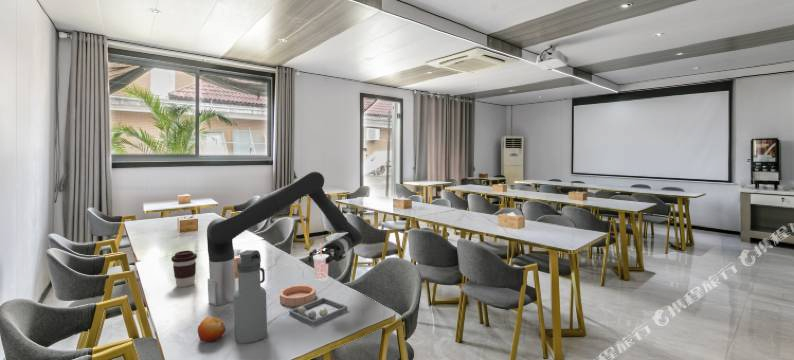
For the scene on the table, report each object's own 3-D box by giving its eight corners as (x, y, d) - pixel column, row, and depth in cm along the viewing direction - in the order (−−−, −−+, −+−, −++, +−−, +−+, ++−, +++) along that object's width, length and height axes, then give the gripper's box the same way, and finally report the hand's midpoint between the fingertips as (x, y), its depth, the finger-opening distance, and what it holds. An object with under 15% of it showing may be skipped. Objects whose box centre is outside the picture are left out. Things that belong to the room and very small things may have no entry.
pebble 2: (311, 321, 128) (311, 313, 128) (306, 319, 130) (305, 311, 130) (318, 318, 131) (317, 310, 130) (312, 316, 132) (312, 308, 132)
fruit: (198, 329, 120) (210, 309, 120) (220, 340, 121) (232, 320, 121) (186, 342, 112) (199, 320, 112) (209, 354, 113) (222, 332, 112)
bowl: (293, 309, 139) (293, 300, 139) (273, 299, 148) (272, 292, 148) (322, 297, 150) (322, 290, 150) (301, 289, 159) (301, 282, 158)
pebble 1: (300, 317, 132) (300, 309, 132) (295, 314, 134) (295, 306, 134) (307, 314, 134) (307, 306, 134) (302, 312, 136) (302, 304, 136)
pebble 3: (323, 319, 130) (322, 310, 130) (317, 316, 132) (317, 308, 132) (329, 316, 133) (329, 308, 133) (324, 313, 135) (323, 306, 134)
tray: (313, 325, 125) (313, 321, 125) (289, 314, 134) (289, 310, 134) (347, 310, 138) (347, 306, 138) (323, 301, 146) (323, 297, 146)
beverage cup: (310, 281, 136) (309, 244, 135) (319, 275, 142) (318, 240, 141) (324, 283, 134) (323, 245, 133) (332, 277, 140) (332, 241, 139)
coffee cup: (167, 287, 163) (166, 254, 162) (187, 279, 172) (186, 248, 171) (183, 290, 159) (181, 256, 158) (202, 282, 168) (201, 250, 167)
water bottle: (243, 328, 124) (241, 247, 122) (272, 328, 123) (269, 247, 121) (229, 344, 113) (225, 256, 111) (260, 344, 113) (257, 256, 111)
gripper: (320, 239, 153) (300, 249, 137) (352, 241, 149) (336, 251, 133) (320, 256, 153) (300, 268, 137) (352, 258, 150) (336, 271, 134)
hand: (318, 260), depth 135 cm, fingers closed on beverage cup, 6 cm apart
